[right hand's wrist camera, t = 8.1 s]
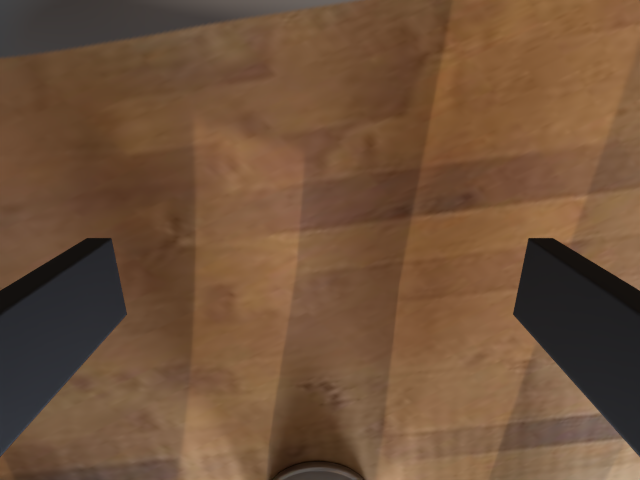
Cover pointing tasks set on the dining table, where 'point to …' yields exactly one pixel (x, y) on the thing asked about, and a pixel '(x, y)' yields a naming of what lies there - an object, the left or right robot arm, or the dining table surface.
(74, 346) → the right robot arm
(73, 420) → the dining table surface
